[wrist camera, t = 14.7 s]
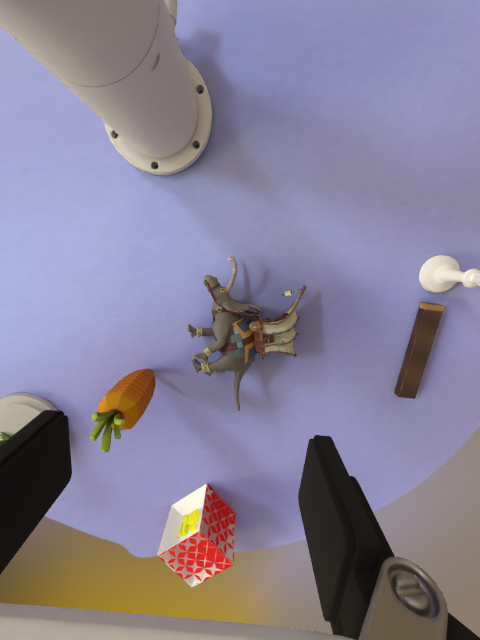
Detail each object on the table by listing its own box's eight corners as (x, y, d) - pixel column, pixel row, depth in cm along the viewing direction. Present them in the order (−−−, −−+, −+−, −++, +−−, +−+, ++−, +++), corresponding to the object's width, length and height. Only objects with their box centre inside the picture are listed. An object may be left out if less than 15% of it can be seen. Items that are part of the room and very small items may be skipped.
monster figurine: (-3, 381, 41) (-81, 423, 31) (74, 409, 42) (22, 458, 32) (-15, 443, 44) (-91, 499, 34) (57, 467, 45) (4, 529, 35)
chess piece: (464, 272, 36) (545, 280, 26) (434, 299, 37) (502, 317, 27) (441, 247, 35) (515, 245, 26) (411, 275, 36) (472, 284, 26)
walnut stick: (420, 302, 37) (426, 303, 36) (438, 304, 37) (445, 306, 36) (393, 392, 41) (398, 397, 39) (410, 394, 41) (416, 399, 39)
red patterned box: (206, 483, 45) (199, 530, 38) (235, 513, 47) (233, 564, 39) (171, 505, 47) (156, 556, 39) (199, 534, 48) (191, 587, 40)
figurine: (158, 277, 31) (297, 231, 30) (172, 276, 37) (289, 237, 36) (213, 426, 35) (340, 390, 34) (217, 403, 41) (326, 372, 39)
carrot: (136, 352, 39) (74, 411, 25) (170, 360, 40) (127, 423, 25) (131, 381, 41) (68, 454, 26) (163, 389, 41) (119, 466, 26)
